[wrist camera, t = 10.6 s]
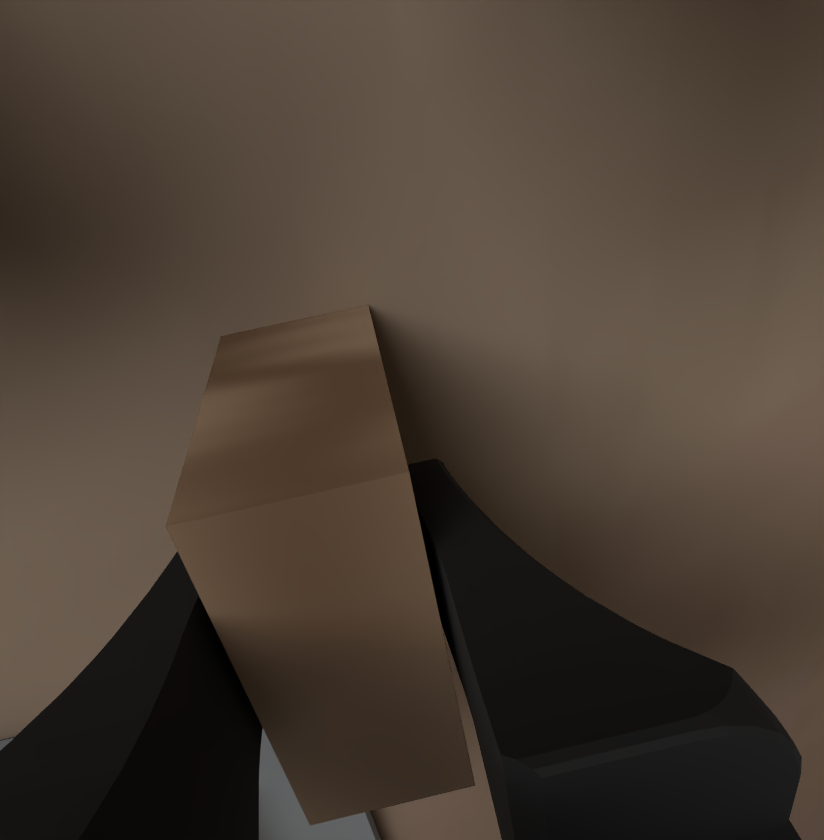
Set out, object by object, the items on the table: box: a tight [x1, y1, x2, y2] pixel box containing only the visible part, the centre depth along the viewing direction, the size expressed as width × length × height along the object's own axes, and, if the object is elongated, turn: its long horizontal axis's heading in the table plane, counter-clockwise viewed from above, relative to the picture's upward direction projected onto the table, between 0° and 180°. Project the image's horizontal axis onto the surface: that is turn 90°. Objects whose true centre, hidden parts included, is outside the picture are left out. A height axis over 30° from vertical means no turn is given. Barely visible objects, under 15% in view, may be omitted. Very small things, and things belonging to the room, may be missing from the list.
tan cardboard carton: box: [166, 305, 475, 826], centre depth 12 cm, size 3×7×6 cm, turn 10°
